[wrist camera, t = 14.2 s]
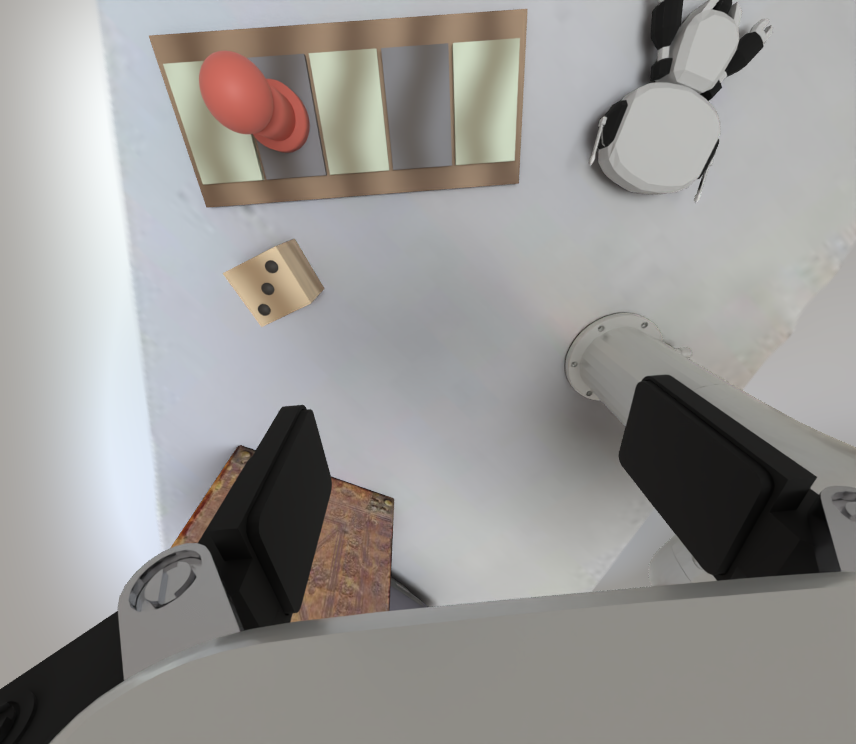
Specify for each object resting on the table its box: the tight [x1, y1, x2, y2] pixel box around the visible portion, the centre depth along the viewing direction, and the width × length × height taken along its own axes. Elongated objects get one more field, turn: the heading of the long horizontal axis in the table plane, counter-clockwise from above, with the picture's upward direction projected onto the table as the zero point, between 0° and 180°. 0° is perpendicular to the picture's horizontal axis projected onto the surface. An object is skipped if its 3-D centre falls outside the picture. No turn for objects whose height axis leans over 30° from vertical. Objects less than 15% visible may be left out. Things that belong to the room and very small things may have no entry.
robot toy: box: [589, 0, 773, 203], centre depth 32 cm, size 12×4×15 cm
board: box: [149, 9, 527, 207], centre depth 32 cm, size 32×13×1 cm, turn 94°
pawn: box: [199, 51, 310, 153], centre depth 26 cm, size 5×5×11 cm
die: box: [223, 239, 324, 327], centre depth 36 cm, size 6×6×6 cm
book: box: [171, 445, 394, 622], centre depth 41 cm, size 25×9×30 cm, turn 61°
